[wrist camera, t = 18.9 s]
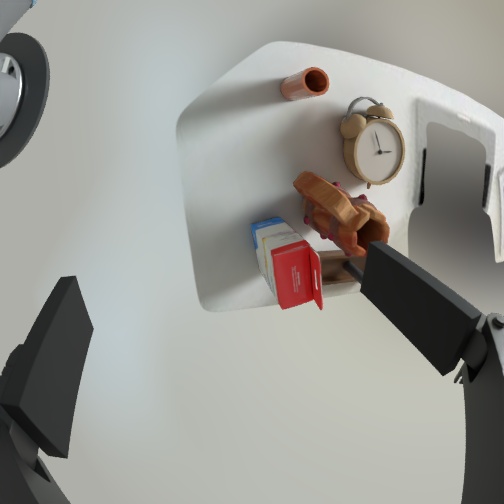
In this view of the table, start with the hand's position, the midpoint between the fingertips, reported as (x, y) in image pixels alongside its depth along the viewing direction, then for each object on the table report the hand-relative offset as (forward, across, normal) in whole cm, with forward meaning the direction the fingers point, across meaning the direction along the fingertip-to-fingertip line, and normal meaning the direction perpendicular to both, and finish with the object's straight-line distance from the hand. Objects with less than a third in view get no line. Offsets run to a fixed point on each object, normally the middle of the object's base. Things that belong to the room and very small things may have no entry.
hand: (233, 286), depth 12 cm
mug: (+31, +18, -4) cm, 36 cm away
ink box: (+31, +11, -12) cm, 35 cm away
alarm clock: (+31, +28, +5) cm, 42 cm away
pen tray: (+30, +26, -17) cm, 44 cm away
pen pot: (+31, +15, +12) cm, 37 cm away
